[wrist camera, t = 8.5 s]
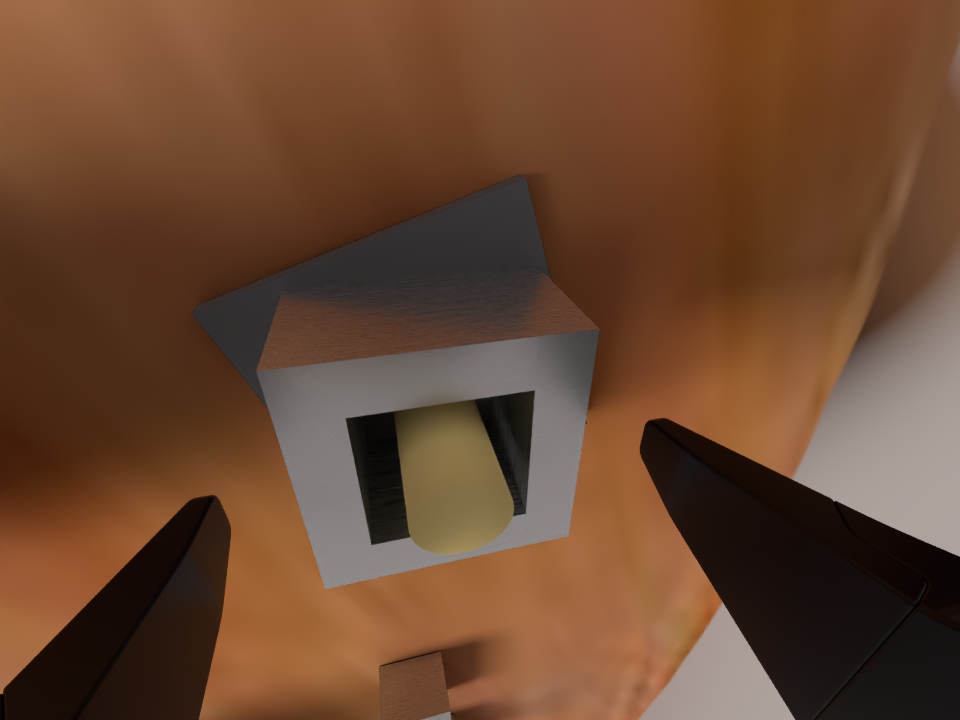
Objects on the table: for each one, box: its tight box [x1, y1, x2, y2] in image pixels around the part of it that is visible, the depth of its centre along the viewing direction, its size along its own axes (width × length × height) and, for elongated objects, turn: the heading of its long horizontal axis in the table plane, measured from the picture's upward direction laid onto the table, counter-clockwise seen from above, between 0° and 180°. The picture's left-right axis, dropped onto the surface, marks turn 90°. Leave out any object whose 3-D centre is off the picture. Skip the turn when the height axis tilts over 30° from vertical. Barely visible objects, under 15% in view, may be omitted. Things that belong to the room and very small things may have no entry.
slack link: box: [379, 651, 451, 720], centre depth 21 cm, size 4×3×2 cm
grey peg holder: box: [192, 175, 587, 555], centre depth 11 cm, size 8×8×5 cm
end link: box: [256, 265, 600, 589], centre depth 11 cm, size 6×6×4 cm
